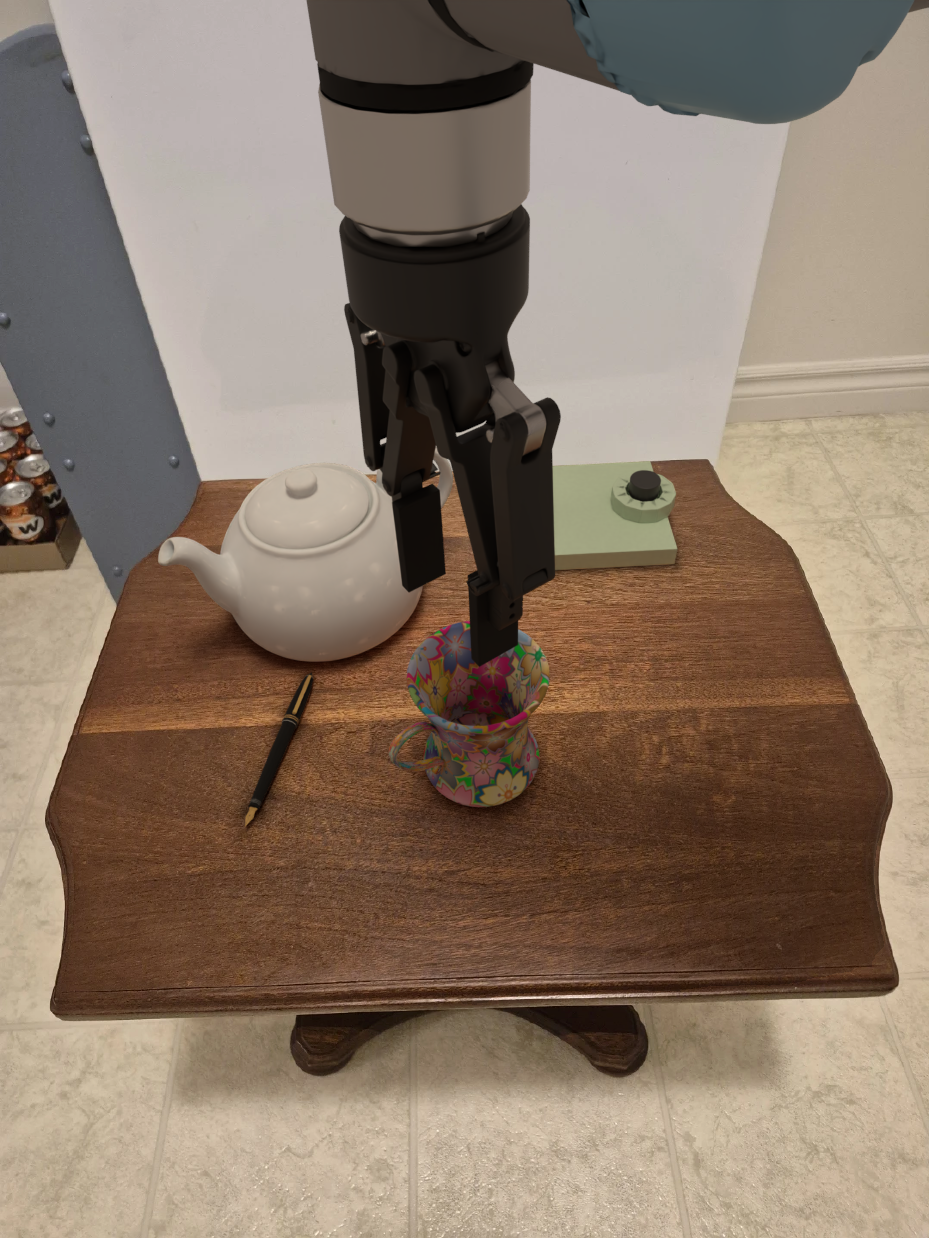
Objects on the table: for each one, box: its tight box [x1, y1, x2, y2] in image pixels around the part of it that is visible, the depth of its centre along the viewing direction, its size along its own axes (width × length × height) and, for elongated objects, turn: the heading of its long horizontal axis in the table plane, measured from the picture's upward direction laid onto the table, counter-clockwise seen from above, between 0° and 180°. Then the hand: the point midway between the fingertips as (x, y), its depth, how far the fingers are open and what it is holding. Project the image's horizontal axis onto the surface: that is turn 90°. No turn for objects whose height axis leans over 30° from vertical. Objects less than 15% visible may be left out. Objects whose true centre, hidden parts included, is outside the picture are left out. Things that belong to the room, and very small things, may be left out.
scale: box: [553, 460, 678, 571], centre depth 79 cm, size 17×13×4 cm
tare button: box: [628, 470, 661, 502], centre depth 78 cm, size 3×3×2 cm
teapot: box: [157, 447, 454, 663], centre depth 70 cm, size 19×18×14 cm
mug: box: [388, 620, 551, 808], centre depth 58 cm, size 12×9×11 cm
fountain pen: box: [244, 671, 314, 828], centre depth 63 cm, size 14×1×2 cm, turn 168°
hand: (457, 613), depth 50 cm, fingers open, 7 cm apart
